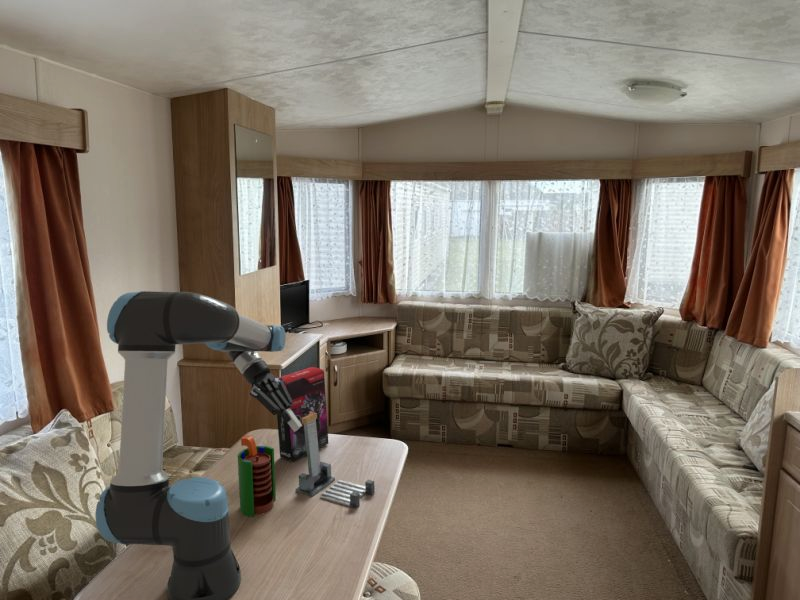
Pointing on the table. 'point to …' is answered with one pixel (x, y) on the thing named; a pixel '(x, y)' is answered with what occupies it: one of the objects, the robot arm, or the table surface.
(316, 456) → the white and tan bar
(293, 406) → the graphics card box
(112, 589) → the table surface
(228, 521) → the robot arm
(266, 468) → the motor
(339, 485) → the bracket
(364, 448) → the table surface
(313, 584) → the table surface
